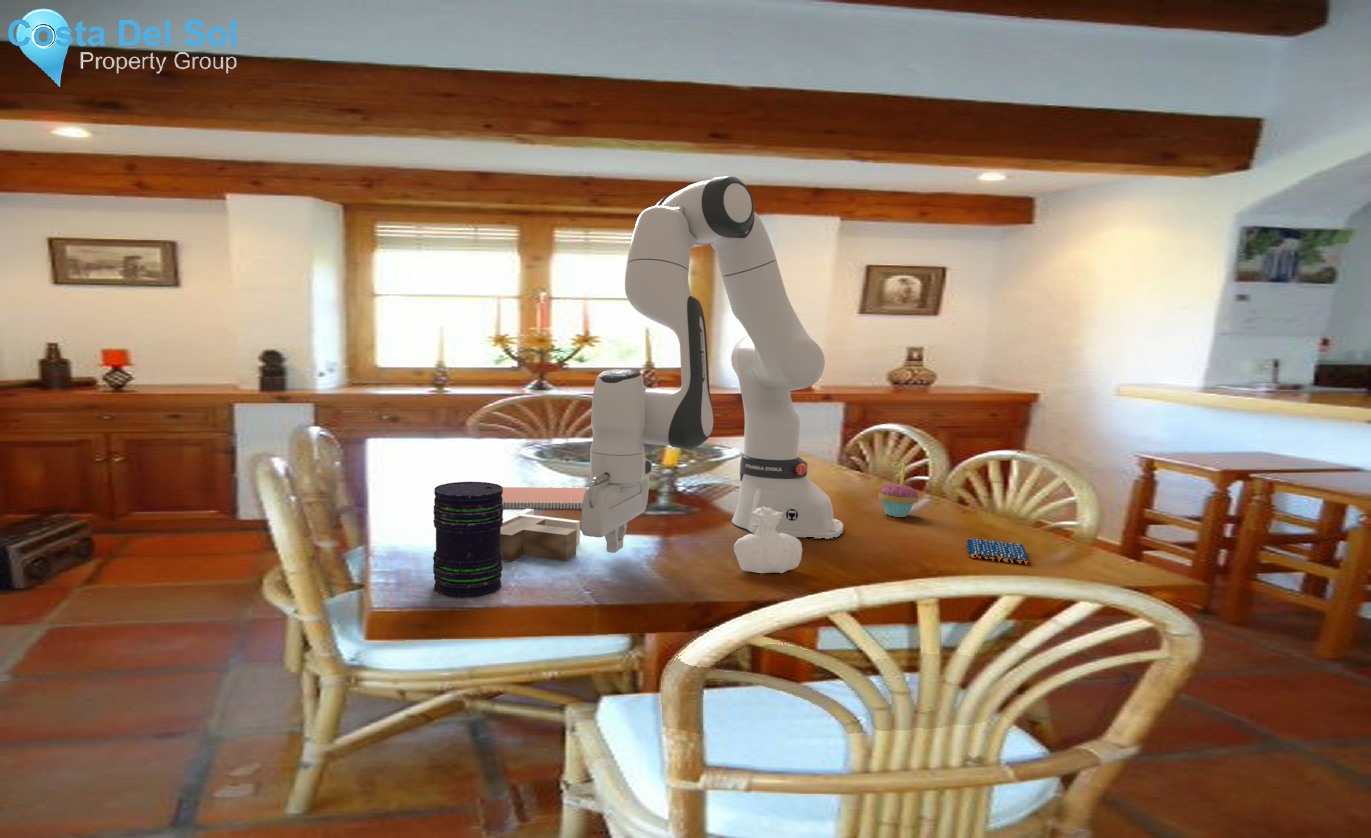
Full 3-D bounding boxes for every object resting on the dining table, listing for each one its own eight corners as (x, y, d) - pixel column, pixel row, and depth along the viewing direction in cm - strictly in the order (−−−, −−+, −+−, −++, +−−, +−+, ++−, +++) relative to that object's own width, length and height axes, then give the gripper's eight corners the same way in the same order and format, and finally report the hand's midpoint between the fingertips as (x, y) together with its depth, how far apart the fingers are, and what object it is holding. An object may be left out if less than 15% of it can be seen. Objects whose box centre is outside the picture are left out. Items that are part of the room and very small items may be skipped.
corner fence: (588, 537, 147) (589, 516, 147) (518, 577, 122) (519, 552, 122) (526, 529, 151) (526, 508, 150) (446, 566, 126) (446, 542, 126)
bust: (797, 579, 134) (785, 518, 140) (814, 563, 128) (800, 500, 133) (730, 583, 131) (720, 520, 136) (744, 566, 125) (732, 501, 130)
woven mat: (1030, 568, 140) (1031, 557, 140) (967, 561, 143) (968, 550, 143) (1024, 553, 150) (1025, 543, 150) (965, 546, 153) (966, 536, 153)
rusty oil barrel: (436, 601, 111) (437, 497, 109) (429, 580, 120) (429, 483, 118) (508, 594, 115) (509, 493, 113) (496, 574, 124) (497, 480, 122)
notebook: (476, 511, 165) (476, 502, 165) (484, 494, 182) (484, 485, 182) (606, 512, 169) (606, 503, 169) (603, 495, 186) (603, 487, 186)
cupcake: (886, 509, 181) (890, 457, 179) (922, 515, 176) (926, 462, 175) (871, 515, 174) (875, 461, 173) (909, 522, 169) (913, 467, 168)
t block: (585, 549, 139) (586, 524, 139) (555, 568, 128) (555, 540, 128) (524, 541, 143) (524, 516, 142) (489, 558, 131) (489, 532, 131)
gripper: (609, 481, 119) (607, 570, 121) (655, 460, 139) (653, 537, 140) (571, 477, 121) (569, 565, 123) (622, 457, 140) (620, 533, 142)
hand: (614, 550), depth 132 cm, fingers closed
